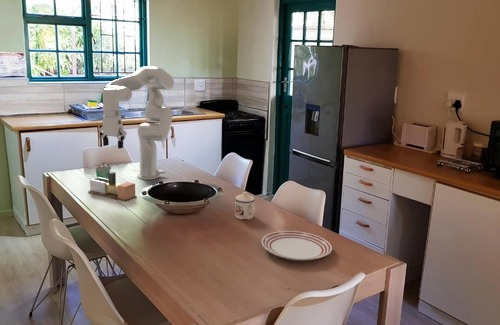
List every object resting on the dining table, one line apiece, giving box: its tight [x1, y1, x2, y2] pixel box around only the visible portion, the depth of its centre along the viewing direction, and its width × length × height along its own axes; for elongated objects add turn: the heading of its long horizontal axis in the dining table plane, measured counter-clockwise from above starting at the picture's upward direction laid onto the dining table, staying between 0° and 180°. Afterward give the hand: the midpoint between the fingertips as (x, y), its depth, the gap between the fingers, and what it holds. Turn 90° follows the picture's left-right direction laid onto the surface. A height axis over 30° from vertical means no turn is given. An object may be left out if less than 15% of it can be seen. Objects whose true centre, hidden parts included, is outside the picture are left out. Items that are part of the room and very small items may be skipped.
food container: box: [95, 162, 112, 179], centre depth 258 cm, size 12×6×10 cm, turn 179°
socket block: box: [118, 181, 136, 200], centre depth 234 cm, size 5×7×6 cm
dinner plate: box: [261, 230, 333, 261], centre depth 184 cm, size 27×27×3 cm
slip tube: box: [105, 171, 121, 195], centre depth 236 cm, size 14×4×10 cm, turn 62°
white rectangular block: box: [89, 176, 109, 194], centre depth 241 cm, size 10×6×6 cm, turn 62°
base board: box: [87, 190, 138, 203], centre depth 239 cm, size 25×8×1 cm, turn 62°
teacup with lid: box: [234, 191, 256, 220], centre depth 215 cm, size 12×9×12 cm
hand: (113, 146), depth 238 cm, fingers open, 9 cm apart
